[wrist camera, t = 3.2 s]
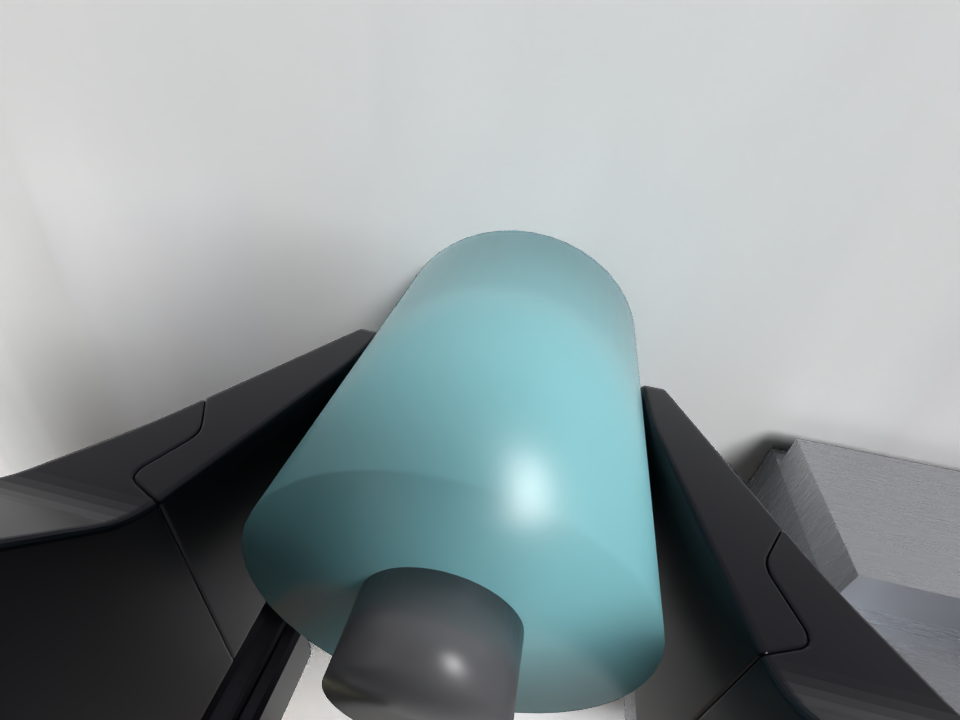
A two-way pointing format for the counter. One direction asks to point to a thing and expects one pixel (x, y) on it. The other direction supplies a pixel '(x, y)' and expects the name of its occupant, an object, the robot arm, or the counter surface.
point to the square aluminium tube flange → (876, 545)
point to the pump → (476, 498)
